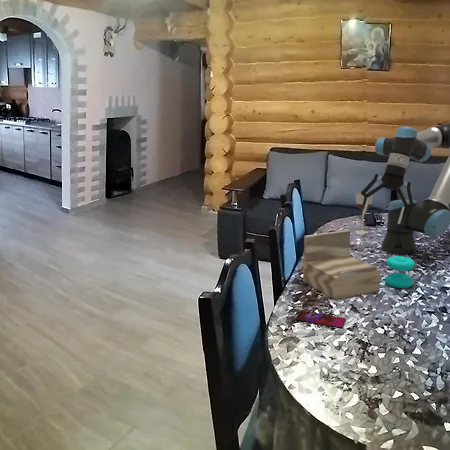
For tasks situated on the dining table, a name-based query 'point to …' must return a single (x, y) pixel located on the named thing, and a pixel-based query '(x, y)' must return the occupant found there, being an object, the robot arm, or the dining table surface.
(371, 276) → the display stand
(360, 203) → the wineglass
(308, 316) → the smartphone
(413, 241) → the robot arm
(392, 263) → the donuts
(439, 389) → the dining table surface
